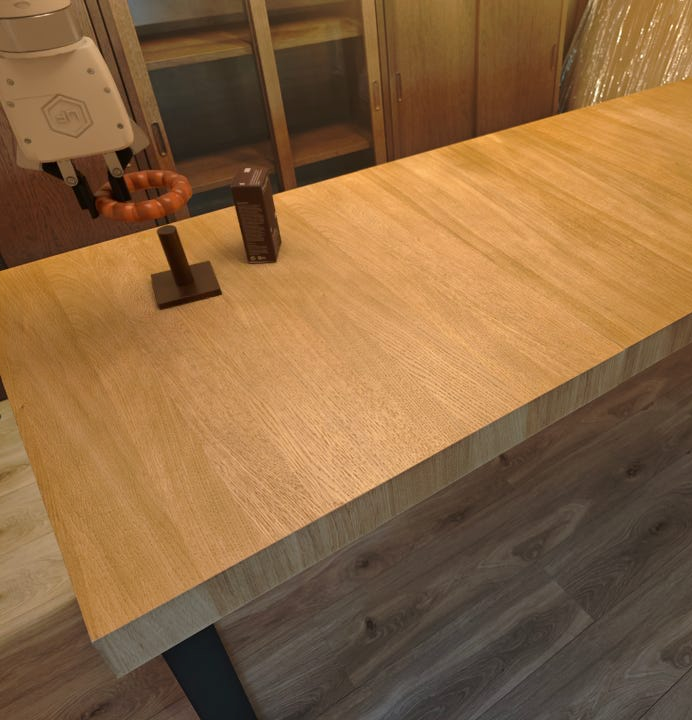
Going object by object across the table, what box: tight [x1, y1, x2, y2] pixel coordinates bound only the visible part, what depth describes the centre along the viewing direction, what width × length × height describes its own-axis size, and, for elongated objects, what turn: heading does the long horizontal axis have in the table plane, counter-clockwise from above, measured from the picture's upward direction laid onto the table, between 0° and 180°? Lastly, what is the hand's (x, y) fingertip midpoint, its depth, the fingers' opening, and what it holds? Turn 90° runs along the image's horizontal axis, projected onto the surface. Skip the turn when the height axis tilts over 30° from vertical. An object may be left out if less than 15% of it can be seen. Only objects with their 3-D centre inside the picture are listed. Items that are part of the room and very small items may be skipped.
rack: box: [150, 224, 223, 311], centre depth 86 cm, size 8×8×9 cm
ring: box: [93, 169, 193, 223], centre depth 72 cm, size 10×10×2 cm
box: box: [230, 167, 283, 264], centre depth 92 cm, size 6×4×12 cm
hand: (109, 209), depth 71 cm, fingers closed on ring, 2 cm apart
